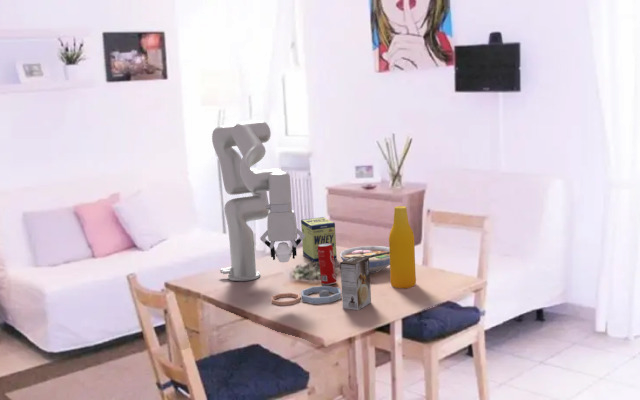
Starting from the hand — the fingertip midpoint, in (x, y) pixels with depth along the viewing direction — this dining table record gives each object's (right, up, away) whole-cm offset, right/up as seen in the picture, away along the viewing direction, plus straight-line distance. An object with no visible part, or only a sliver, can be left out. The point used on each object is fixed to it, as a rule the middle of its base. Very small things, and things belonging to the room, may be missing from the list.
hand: (283, 257), depth 271 cm
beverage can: (+16, -11, +21) cm, 28 cm away
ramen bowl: (+32, -8, +35) cm, 48 cm away
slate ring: (+13, -14, +4) cm, 20 cm away
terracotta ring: (+1, -15, +2) cm, 15 cm away
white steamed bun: (0, -1, 0) cm, 1 cm away
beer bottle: (+43, -11, +13) cm, 46 cm away
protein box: (+12, -4, +61) cm, 62 cm away
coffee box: (+25, -16, -7) cm, 31 cm away
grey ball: (+14, -15, +1) cm, 20 cm away
